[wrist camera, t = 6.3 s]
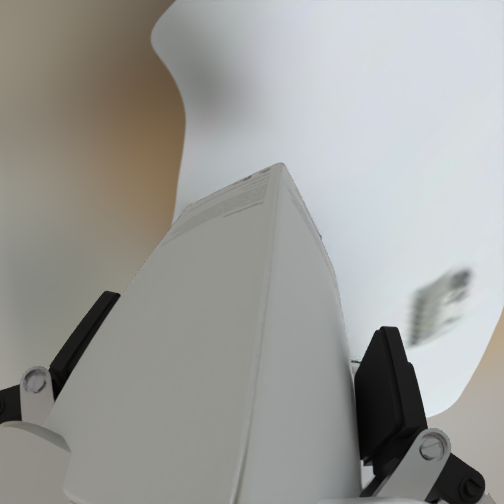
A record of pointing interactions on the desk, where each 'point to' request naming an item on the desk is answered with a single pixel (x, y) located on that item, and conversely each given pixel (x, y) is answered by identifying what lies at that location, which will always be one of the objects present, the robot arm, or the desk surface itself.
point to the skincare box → (219, 366)
